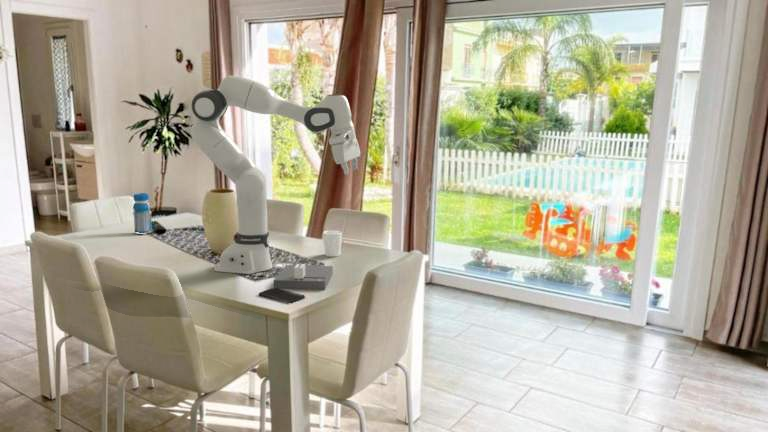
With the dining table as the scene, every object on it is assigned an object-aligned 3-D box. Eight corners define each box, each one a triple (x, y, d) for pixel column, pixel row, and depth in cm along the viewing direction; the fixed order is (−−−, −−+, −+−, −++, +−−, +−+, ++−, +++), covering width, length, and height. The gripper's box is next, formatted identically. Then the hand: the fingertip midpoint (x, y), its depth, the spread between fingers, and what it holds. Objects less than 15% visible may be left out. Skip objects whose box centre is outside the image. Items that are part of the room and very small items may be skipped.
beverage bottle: (141, 236, 282) (138, 195, 278) (130, 234, 286) (128, 194, 283) (156, 233, 289) (153, 193, 285) (145, 231, 293) (143, 192, 290)
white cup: (339, 257, 244) (338, 234, 242) (321, 256, 246) (321, 233, 244) (344, 253, 252) (343, 230, 250) (326, 252, 253) (326, 230, 251)
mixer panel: (273, 288, 201) (273, 279, 201) (286, 272, 221) (286, 264, 220) (325, 289, 200) (324, 281, 200) (332, 273, 220) (332, 265, 219)
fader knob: (294, 278, 202) (294, 267, 201) (297, 274, 207) (297, 263, 206) (302, 278, 202) (302, 267, 201) (305, 274, 206) (305, 263, 206)
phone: (273, 287, 200) (306, 295, 191) (273, 290, 200) (306, 298, 192) (256, 293, 193) (289, 301, 185) (257, 296, 193) (289, 305, 185)
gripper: (345, 134, 230) (352, 168, 232) (326, 140, 211) (334, 177, 213) (360, 132, 228) (367, 166, 230) (342, 137, 209) (350, 175, 211)
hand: (351, 171), depth 222 cm, fingers open, 8 cm apart
